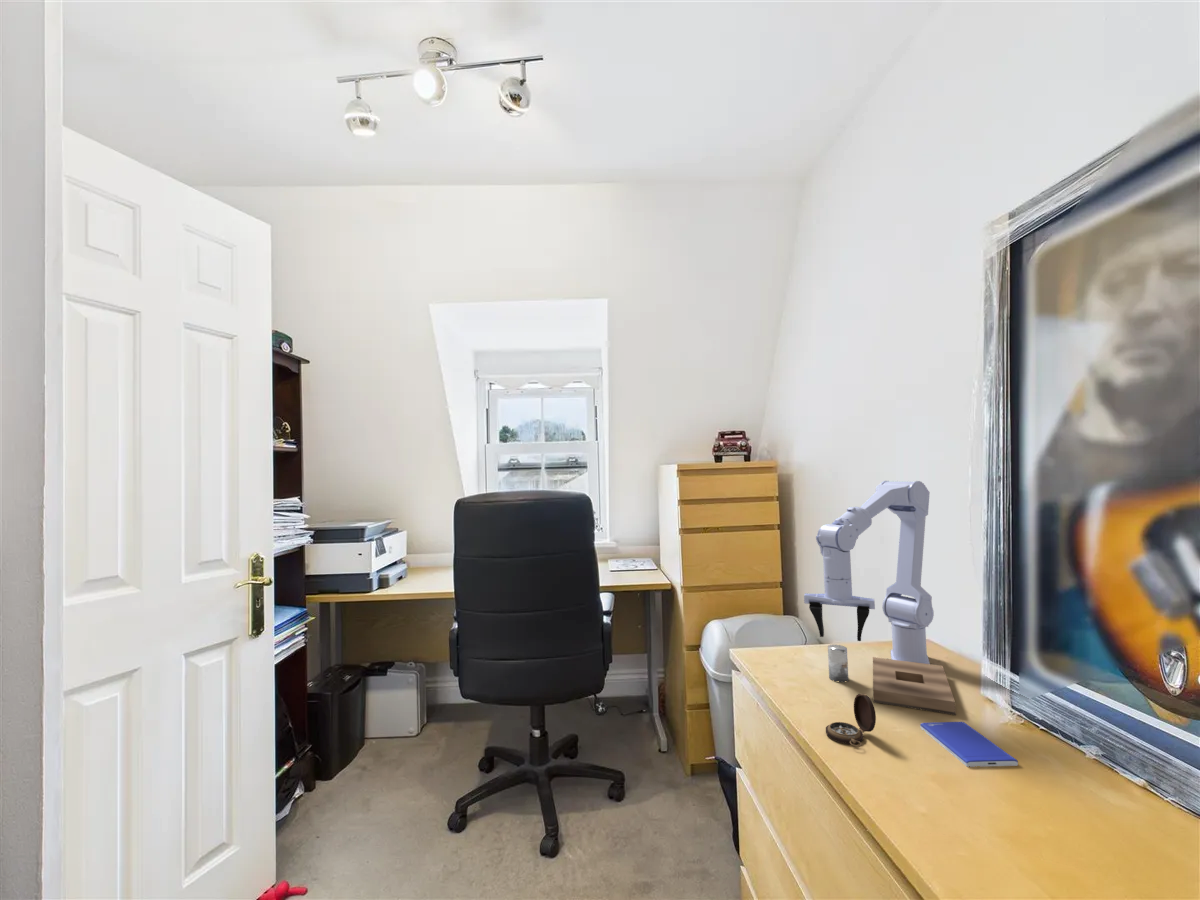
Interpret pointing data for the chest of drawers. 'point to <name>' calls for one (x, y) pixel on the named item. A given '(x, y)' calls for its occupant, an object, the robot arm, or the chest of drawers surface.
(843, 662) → the peg
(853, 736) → the compass
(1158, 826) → the chest of drawers surface
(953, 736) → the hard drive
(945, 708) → the socket board
